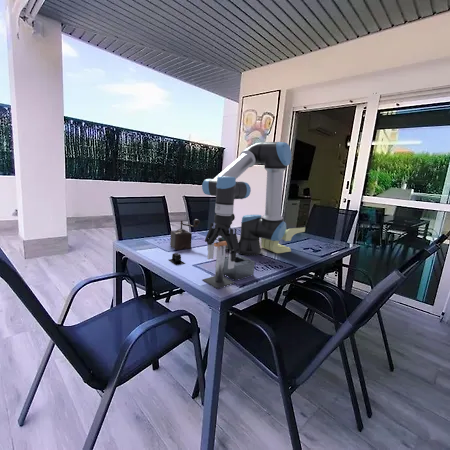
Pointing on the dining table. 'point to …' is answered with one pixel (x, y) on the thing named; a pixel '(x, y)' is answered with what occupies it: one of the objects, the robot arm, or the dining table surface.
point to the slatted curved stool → (274, 245)
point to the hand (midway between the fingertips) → (220, 263)
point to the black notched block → (176, 259)
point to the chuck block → (239, 268)
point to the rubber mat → (216, 284)
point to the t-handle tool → (220, 261)
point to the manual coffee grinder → (182, 237)
